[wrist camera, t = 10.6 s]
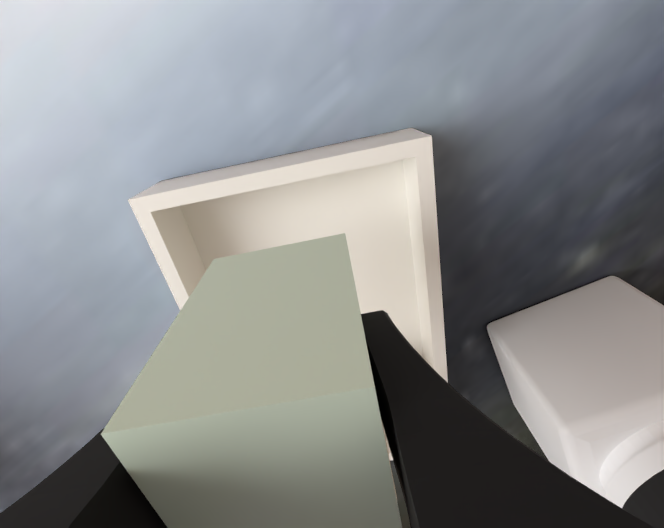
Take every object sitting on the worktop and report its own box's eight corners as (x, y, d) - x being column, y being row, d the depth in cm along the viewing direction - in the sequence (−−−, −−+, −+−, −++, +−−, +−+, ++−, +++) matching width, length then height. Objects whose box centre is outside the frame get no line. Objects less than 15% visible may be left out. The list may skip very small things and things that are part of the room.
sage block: (366, 340, 12) (404, 542, 7) (252, 361, 12) (200, 572, 7) (344, 233, 10) (374, 386, 5) (213, 258, 10) (100, 434, 5)
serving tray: (436, 407, 22) (452, 450, 20) (267, 435, 23) (260, 481, 20) (410, 127, 15) (431, 135, 12) (160, 181, 15) (128, 199, 13)
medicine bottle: (511, 402, 23) (687, 685, 12) (482, 322, 20) (682, 601, 9) (625, 362, 21) (936, 636, 11) (613, 270, 18) (1025, 521, 8)
